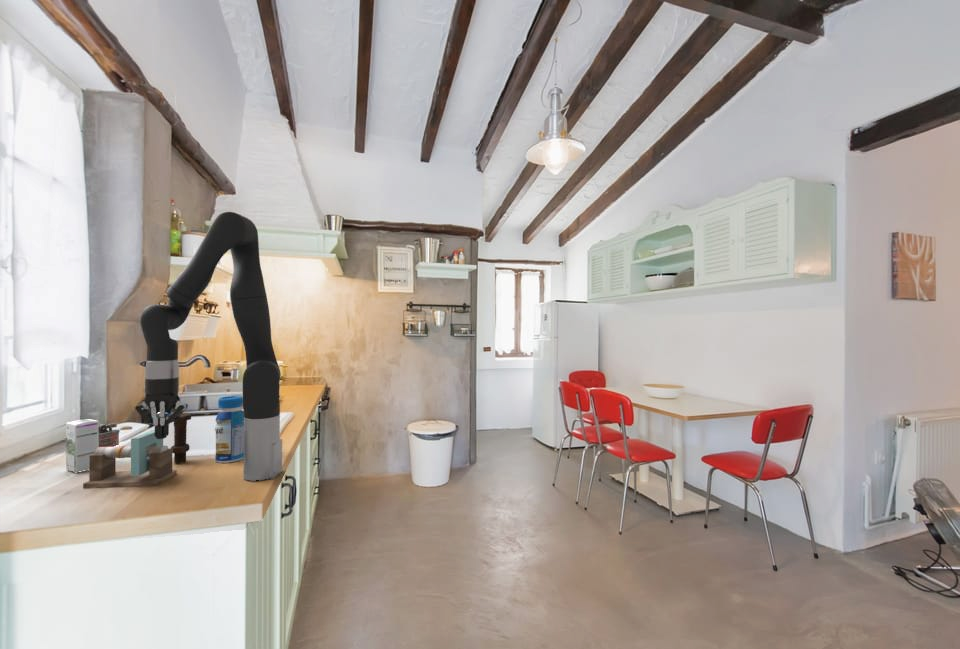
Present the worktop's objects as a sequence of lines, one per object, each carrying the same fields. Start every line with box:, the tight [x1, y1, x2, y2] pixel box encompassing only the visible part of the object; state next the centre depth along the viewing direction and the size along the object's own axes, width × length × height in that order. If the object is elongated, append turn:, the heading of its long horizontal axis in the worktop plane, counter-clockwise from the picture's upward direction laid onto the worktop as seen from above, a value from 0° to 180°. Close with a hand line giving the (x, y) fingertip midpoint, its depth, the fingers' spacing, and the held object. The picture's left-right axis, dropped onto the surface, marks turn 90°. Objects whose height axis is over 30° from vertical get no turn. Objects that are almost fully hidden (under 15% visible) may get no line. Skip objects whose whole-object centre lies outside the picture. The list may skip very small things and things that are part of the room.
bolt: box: [170, 412, 192, 465], centre depth 132 cm, size 6×5×15 cm
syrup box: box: [65, 418, 99, 473], centre depth 126 cm, size 6×6×14 cm
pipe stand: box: [82, 445, 178, 489], centre depth 117 cm, size 18×9×10 cm, turn 96°
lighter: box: [98, 422, 121, 447], centre depth 140 cm, size 8×3×10 cm, turn 148°
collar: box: [130, 429, 164, 476], centre depth 117 cm, size 2×10×10 cm, turn 6°
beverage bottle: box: [214, 395, 244, 464], centre depth 136 cm, size 8×8×20 cm
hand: (161, 438), depth 118 cm, fingers closed
